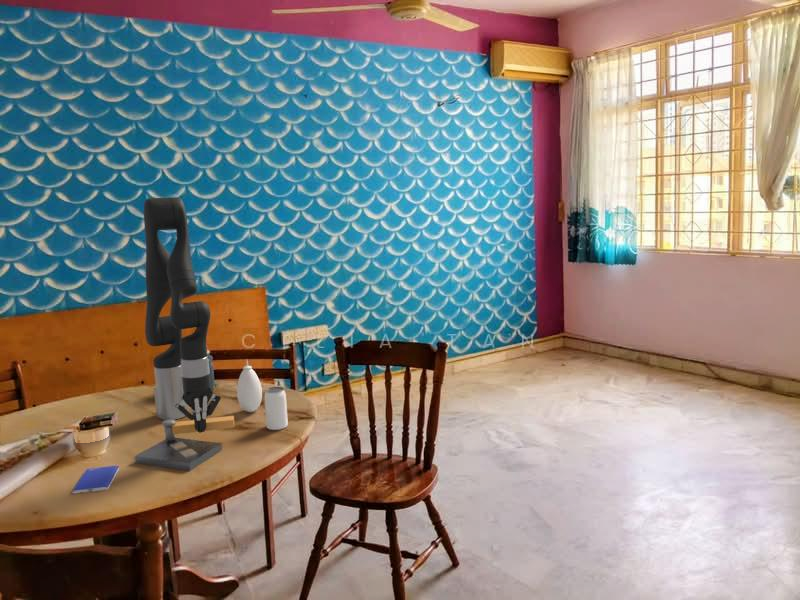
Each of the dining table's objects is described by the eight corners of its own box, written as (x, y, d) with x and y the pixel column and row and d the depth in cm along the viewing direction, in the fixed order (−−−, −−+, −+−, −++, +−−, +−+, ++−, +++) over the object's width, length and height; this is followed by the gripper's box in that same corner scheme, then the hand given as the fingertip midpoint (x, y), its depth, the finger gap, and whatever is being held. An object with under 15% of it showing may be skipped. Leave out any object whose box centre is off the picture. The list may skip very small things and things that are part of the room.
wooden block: (163, 442, 184) (161, 424, 183) (164, 437, 188) (163, 420, 187) (234, 434, 188) (233, 416, 187) (234, 429, 192) (233, 412, 191)
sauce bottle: (254, 416, 209) (249, 362, 206) (234, 414, 212) (229, 361, 209) (267, 408, 216) (263, 356, 213) (248, 406, 219) (243, 355, 216)
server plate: (135, 462, 176) (134, 454, 176) (170, 443, 189) (169, 435, 189) (190, 470, 170) (189, 462, 170) (222, 449, 183) (221, 442, 182)
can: (283, 431, 195) (280, 393, 193) (263, 430, 197) (260, 392, 195) (291, 423, 202) (288, 386, 200) (271, 422, 203) (268, 385, 201)
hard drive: (85, 468, 171) (72, 489, 159) (118, 465, 173) (107, 485, 161) (86, 474, 171) (73, 495, 159) (119, 470, 173) (108, 491, 161)
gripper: (177, 380, 173) (183, 441, 176) (223, 370, 182) (228, 428, 185) (167, 375, 179) (173, 434, 182) (212, 365, 187) (217, 422, 190)
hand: (201, 431), depth 183 cm, fingers closed
